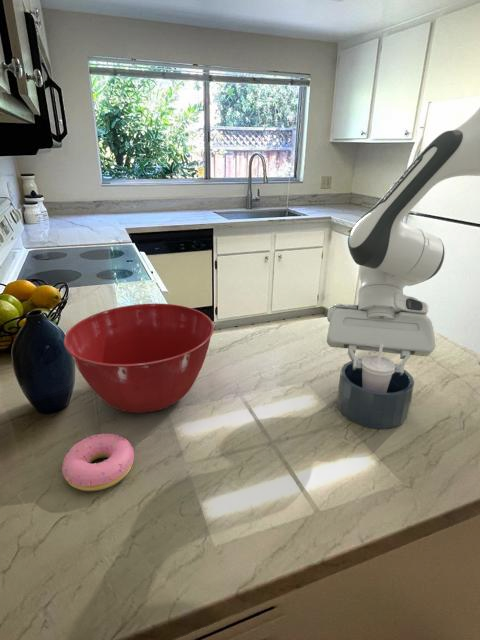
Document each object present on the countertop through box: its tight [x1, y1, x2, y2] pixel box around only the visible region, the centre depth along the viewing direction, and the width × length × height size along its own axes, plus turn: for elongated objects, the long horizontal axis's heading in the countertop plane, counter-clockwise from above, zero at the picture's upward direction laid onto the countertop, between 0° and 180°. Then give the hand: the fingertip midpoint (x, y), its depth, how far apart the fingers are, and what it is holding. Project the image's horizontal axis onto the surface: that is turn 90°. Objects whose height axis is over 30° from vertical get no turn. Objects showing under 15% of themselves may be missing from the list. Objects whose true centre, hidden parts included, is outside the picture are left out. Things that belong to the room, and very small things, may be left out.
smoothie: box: [361, 343, 396, 393], centre depth 78 cm, size 6×6×14 cm
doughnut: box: [61, 432, 135, 492], centre depth 64 cm, size 11×11×4 cm
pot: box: [336, 358, 415, 430], centre depth 80 cm, size 14×14×8 cm
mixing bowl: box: [63, 302, 215, 414], centre depth 82 cm, size 28×28×16 cm
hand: (377, 372), depth 77 cm, fingers closed on smoothie, 6 cm apart
